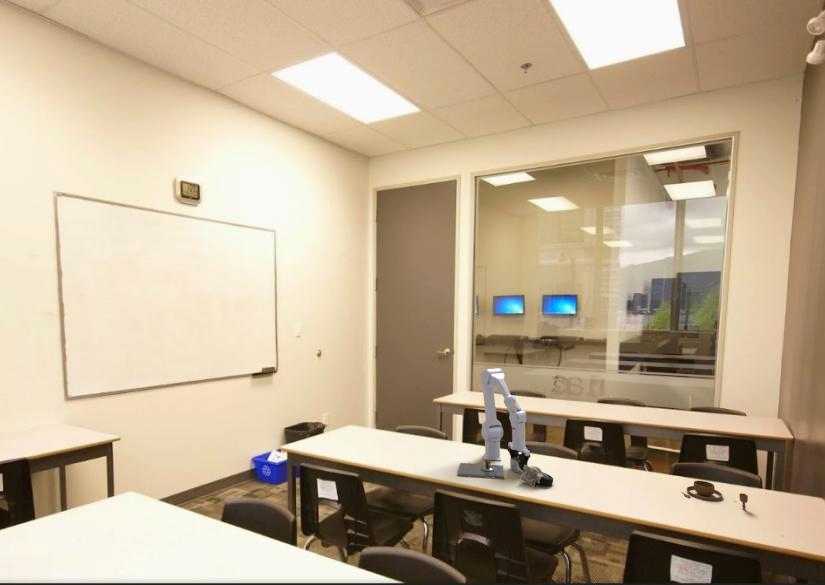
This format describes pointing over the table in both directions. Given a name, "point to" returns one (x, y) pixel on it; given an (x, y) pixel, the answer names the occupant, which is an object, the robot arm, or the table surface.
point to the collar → (515, 464)
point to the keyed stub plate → (481, 470)
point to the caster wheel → (535, 476)
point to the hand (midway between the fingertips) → (519, 467)
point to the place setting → (710, 492)
